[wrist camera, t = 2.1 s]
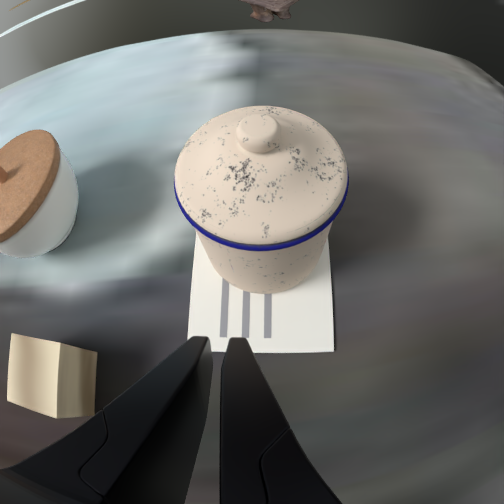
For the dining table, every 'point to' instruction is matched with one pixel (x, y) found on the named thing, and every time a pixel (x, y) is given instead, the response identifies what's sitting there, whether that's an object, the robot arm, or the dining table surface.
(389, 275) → the dining table surface
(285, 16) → the clay figurine
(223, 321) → the letter
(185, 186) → the teacup with lid
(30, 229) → the lidded jar
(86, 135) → the dining table surface
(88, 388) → the beech block
